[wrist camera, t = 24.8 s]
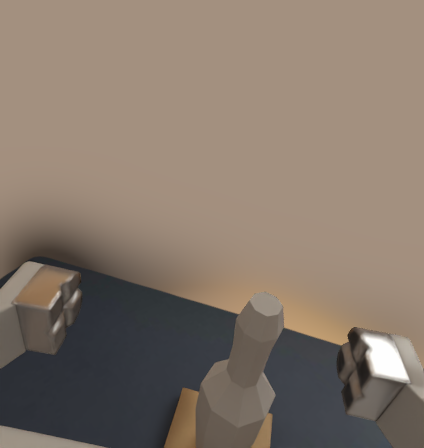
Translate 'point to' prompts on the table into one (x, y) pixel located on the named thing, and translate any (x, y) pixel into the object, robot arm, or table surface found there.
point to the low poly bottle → (240, 380)
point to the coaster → (186, 424)
